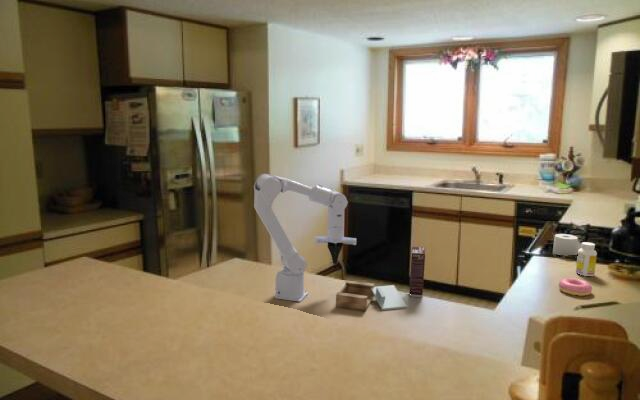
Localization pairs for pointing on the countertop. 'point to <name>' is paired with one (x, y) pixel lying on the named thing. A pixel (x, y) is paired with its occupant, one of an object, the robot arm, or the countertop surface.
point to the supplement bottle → (586, 259)
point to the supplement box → (417, 272)
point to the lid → (388, 297)
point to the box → (355, 296)
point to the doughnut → (575, 286)
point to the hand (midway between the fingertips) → (335, 263)
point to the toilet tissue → (566, 244)
